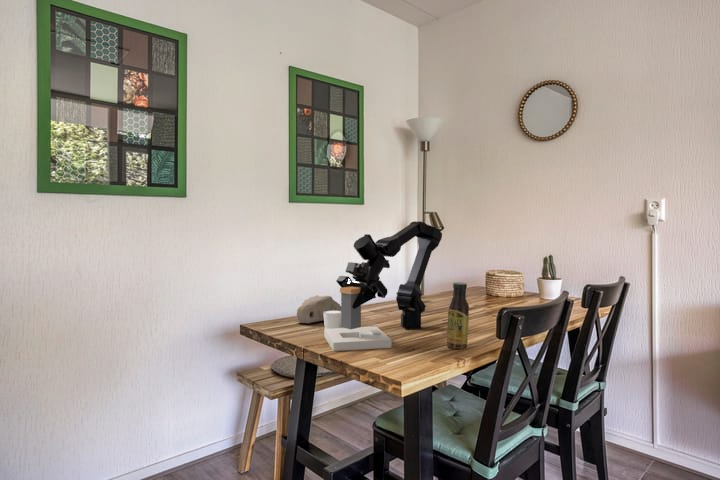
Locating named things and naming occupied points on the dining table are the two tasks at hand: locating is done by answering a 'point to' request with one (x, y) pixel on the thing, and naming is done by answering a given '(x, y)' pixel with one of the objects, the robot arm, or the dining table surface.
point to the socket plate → (357, 338)
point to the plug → (350, 308)
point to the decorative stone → (316, 309)
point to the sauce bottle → (458, 318)
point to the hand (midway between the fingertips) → (348, 307)
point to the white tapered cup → (332, 319)
